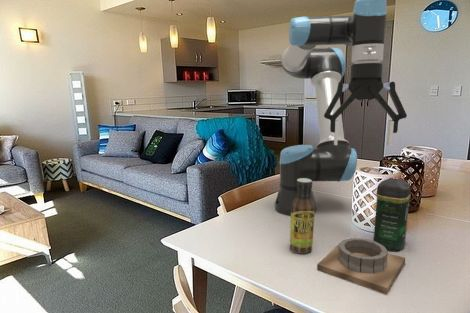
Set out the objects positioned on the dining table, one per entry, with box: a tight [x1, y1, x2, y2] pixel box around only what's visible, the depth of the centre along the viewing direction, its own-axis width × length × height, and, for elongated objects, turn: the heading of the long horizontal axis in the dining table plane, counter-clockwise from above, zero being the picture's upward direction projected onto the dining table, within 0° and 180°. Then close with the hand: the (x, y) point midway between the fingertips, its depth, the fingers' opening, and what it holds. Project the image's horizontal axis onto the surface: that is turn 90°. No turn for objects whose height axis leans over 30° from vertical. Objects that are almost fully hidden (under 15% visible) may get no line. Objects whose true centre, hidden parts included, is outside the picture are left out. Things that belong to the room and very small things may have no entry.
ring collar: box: [316, 237, 406, 295], centre depth 80 cm, size 16×16×5 cm
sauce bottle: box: [289, 178, 315, 254], centre depth 87 cm, size 6×6×20 cm
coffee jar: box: [372, 177, 411, 251], centre depth 90 cm, size 10×8×19 cm
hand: (361, 144), depth 87 cm, fingers open, 13 cm apart
